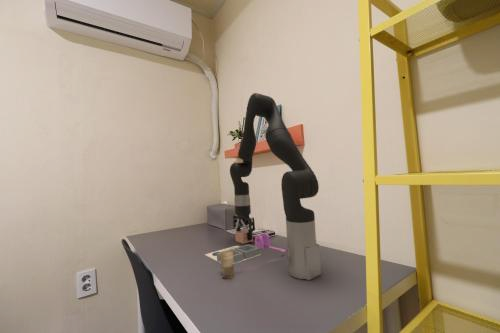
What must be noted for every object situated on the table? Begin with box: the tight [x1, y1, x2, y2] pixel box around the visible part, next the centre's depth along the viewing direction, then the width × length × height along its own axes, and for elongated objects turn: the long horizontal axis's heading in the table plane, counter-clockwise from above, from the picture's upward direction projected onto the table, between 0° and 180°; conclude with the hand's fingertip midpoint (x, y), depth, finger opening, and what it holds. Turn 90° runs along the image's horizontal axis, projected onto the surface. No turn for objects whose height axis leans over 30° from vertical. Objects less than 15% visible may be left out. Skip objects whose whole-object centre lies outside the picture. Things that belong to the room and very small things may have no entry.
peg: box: [220, 250, 235, 281], centre depth 76 cm, size 4×4×8 cm
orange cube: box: [234, 228, 254, 244], centre depth 110 cm, size 6×6×6 cm
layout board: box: [204, 243, 262, 265], centre depth 93 cm, size 17×16×4 cm
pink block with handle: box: [254, 232, 286, 257], centre depth 97 cm, size 13×6×7 cm, turn 47°
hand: (244, 238), depth 111 cm, fingers open, 8 cm apart
